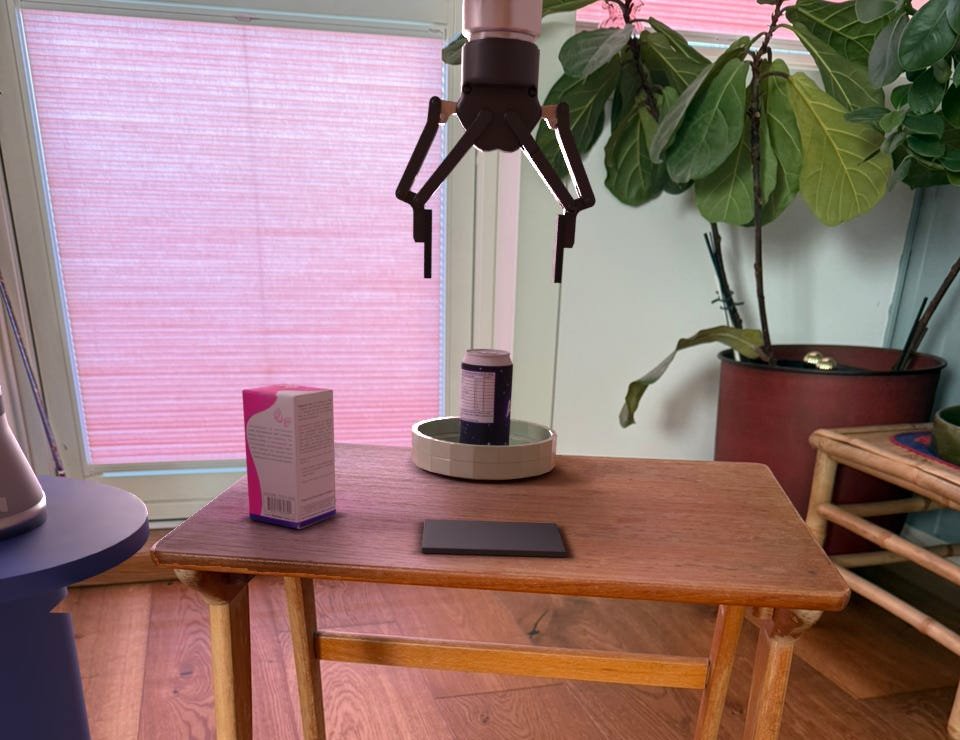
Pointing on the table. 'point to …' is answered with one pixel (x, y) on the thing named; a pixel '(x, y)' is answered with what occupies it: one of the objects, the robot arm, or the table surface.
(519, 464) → the bowl
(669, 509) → the table surface
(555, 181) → the robot arm
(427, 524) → the mat
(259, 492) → the supplement box
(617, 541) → the table surface
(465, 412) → the beverage can
